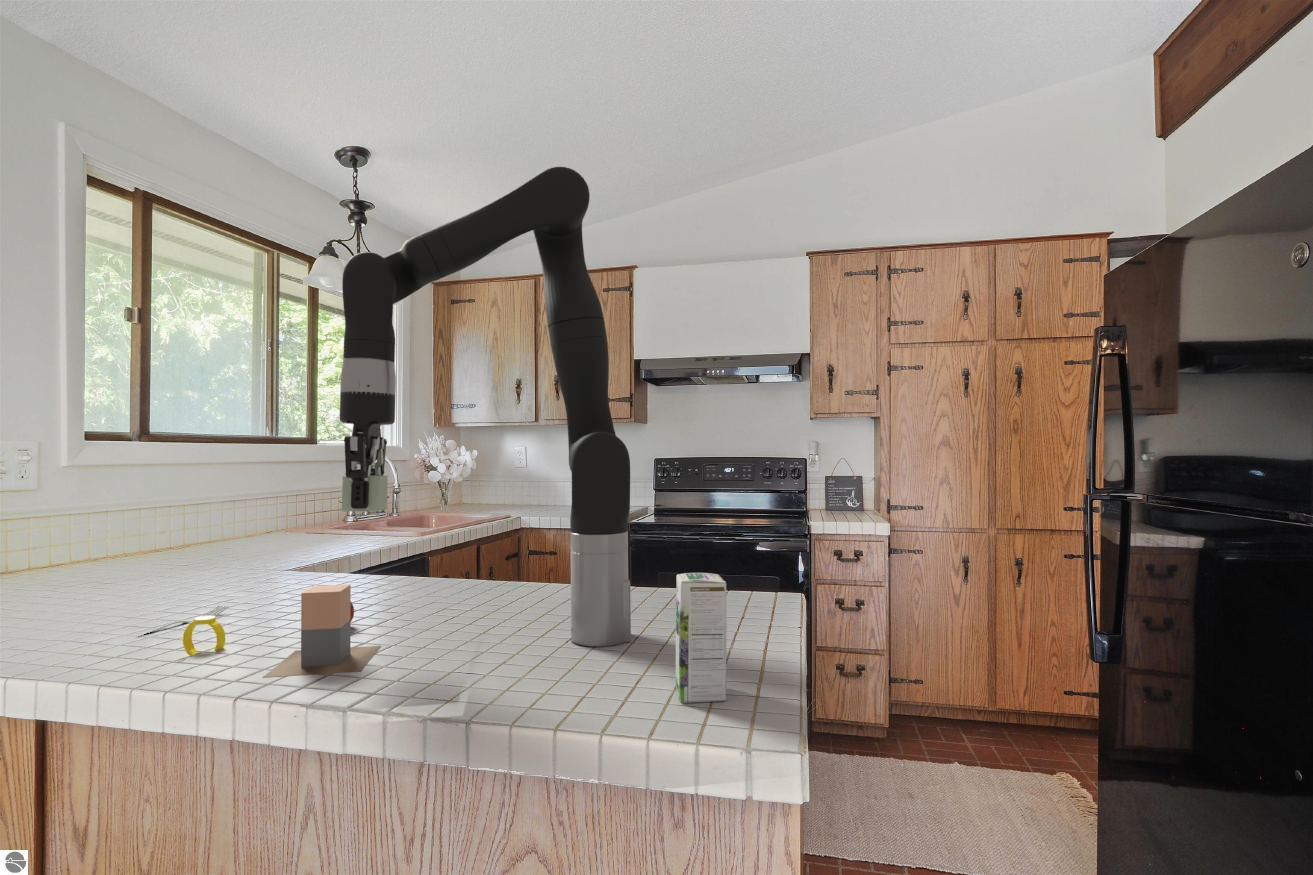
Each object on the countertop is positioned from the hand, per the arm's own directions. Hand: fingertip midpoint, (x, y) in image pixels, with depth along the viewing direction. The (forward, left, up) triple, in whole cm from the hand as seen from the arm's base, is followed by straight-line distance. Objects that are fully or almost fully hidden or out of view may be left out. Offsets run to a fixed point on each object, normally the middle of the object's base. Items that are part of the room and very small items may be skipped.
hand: (364, 506), depth 99 cm
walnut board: (+4, +4, -22) cm, 23 cm away
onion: (+8, -14, -23) cm, 28 cm away
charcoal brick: (+4, +4, -21) cm, 22 cm away
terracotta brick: (+4, +4, -16) cm, 17 cm away
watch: (+24, -6, -23) cm, 34 cm away
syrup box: (-45, +24, -23) cm, 55 cm away
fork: (+39, -26, -23) cm, 52 cm away
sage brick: (0, 0, 0) cm, 0 cm away
